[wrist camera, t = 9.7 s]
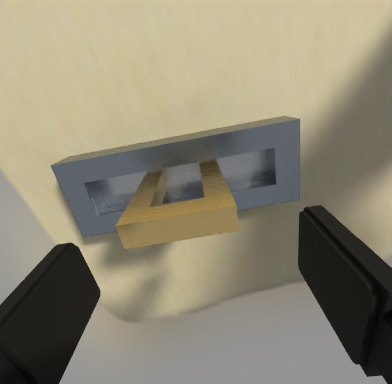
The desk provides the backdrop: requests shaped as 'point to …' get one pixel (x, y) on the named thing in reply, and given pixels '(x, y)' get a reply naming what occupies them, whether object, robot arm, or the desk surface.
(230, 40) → the desk surface
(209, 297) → the desk surface
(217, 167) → the wooden u-shaped block
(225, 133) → the rail
